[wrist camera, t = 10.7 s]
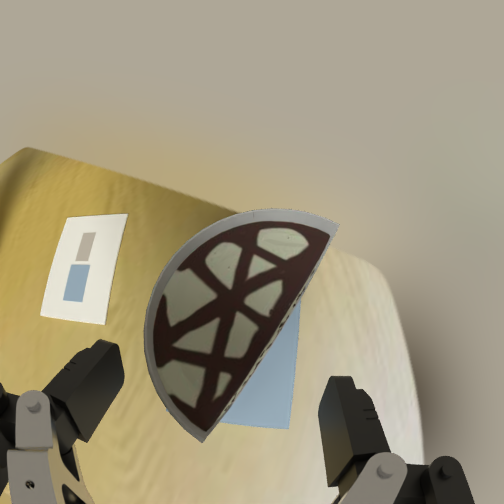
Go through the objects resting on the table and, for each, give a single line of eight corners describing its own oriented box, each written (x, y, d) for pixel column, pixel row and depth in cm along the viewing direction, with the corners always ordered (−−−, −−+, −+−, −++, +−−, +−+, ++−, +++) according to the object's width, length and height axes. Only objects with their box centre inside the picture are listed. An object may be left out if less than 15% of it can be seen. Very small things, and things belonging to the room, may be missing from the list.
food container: (241, 254, 23) (240, 166, 14) (305, 290, 22) (343, 217, 13) (152, 374, 18) (81, 353, 9) (219, 422, 16) (195, 451, 8)
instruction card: (41, 315, 24) (39, 315, 24) (68, 218, 31) (67, 217, 31) (105, 324, 24) (104, 324, 24) (128, 214, 31) (127, 213, 31)
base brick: (181, 407, 21) (166, 411, 17) (206, 271, 28) (199, 246, 23) (280, 421, 21) (288, 429, 16) (293, 281, 27) (302, 258, 23)
